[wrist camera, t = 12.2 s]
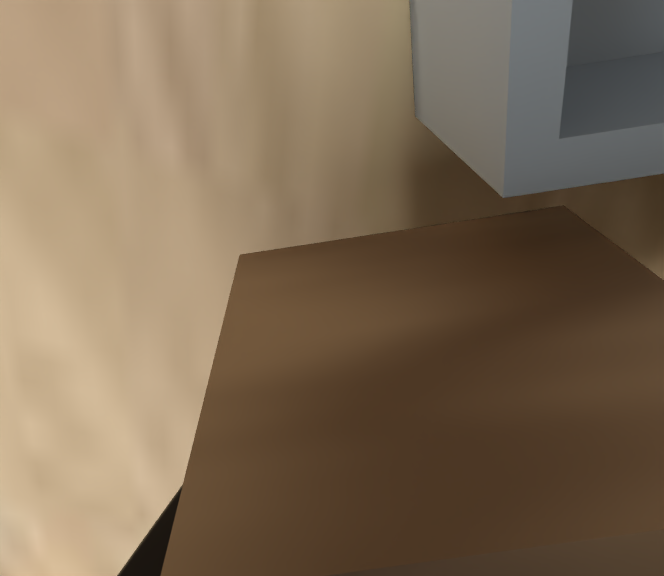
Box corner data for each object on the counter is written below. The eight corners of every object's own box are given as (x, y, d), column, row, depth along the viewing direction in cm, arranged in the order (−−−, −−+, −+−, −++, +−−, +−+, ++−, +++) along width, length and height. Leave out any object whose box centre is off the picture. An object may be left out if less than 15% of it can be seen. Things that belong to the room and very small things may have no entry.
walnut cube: (563, 205, 7) (945, 490, 3) (537, 435, 10) (724, 769, 6) (239, 254, 7) (154, 597, 3) (296, 469, 10) (294, 824, 6)
